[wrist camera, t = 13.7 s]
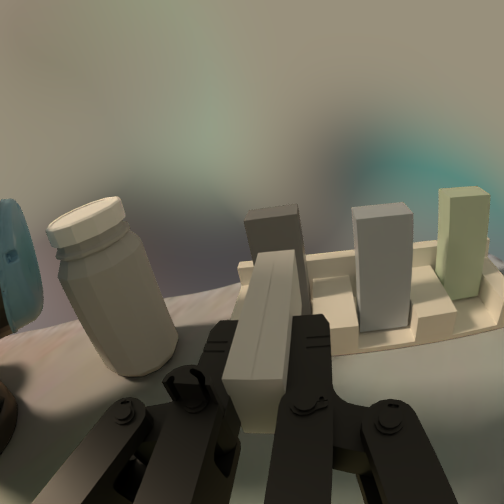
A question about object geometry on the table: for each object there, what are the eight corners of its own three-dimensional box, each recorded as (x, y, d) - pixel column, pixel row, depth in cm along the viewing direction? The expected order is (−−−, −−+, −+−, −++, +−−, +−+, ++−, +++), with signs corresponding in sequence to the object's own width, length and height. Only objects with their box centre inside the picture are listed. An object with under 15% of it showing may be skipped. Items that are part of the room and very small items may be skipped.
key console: (513, 324, 24) (526, 277, 22) (233, 361, 31) (218, 316, 29) (478, 275, 33) (484, 234, 31) (249, 302, 40) (239, 262, 38)
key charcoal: (311, 318, 33) (297, 213, 28) (266, 322, 35) (243, 220, 30) (311, 302, 36) (297, 203, 31) (269, 306, 37) (248, 210, 32)
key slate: (407, 326, 29) (413, 213, 24) (360, 332, 30) (356, 219, 25) (401, 308, 31) (403, 202, 26) (357, 313, 32) (351, 207, 27)
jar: (94, 374, 32) (22, 237, 25) (134, 325, 41) (83, 201, 33) (158, 389, 29) (79, 226, 21) (194, 330, 37) (145, 187, 30)
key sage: (477, 295, 29) (490, 194, 24) (441, 302, 30) (450, 197, 25) (468, 281, 32) (477, 186, 27) (433, 287, 33) (438, 188, 28)
